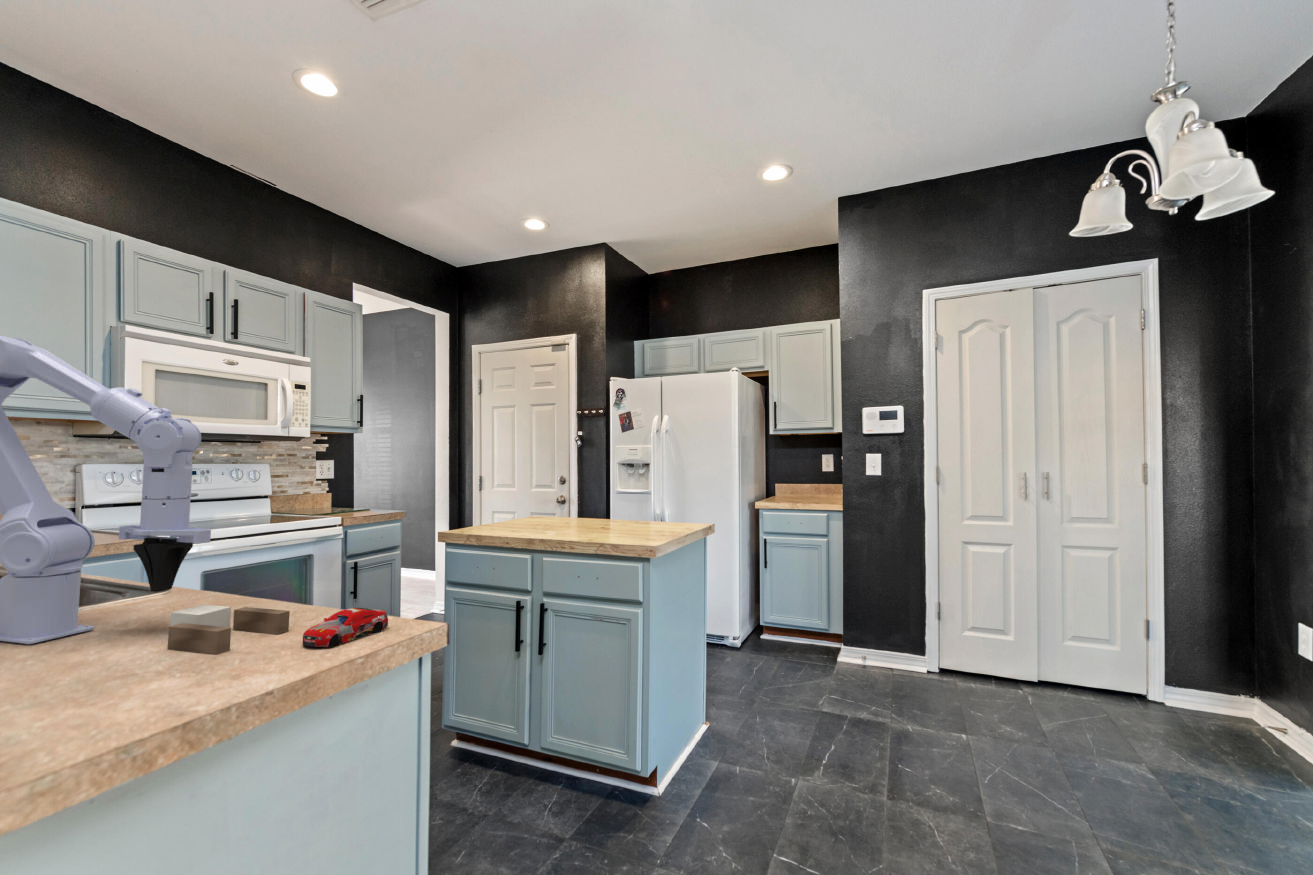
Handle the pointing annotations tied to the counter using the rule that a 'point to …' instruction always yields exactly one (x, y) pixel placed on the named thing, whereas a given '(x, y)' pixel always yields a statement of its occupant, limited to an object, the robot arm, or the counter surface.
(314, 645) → the race car
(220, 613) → the off-white block
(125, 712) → the counter surface
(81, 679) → the counter surface
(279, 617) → the parallel wooden rails
